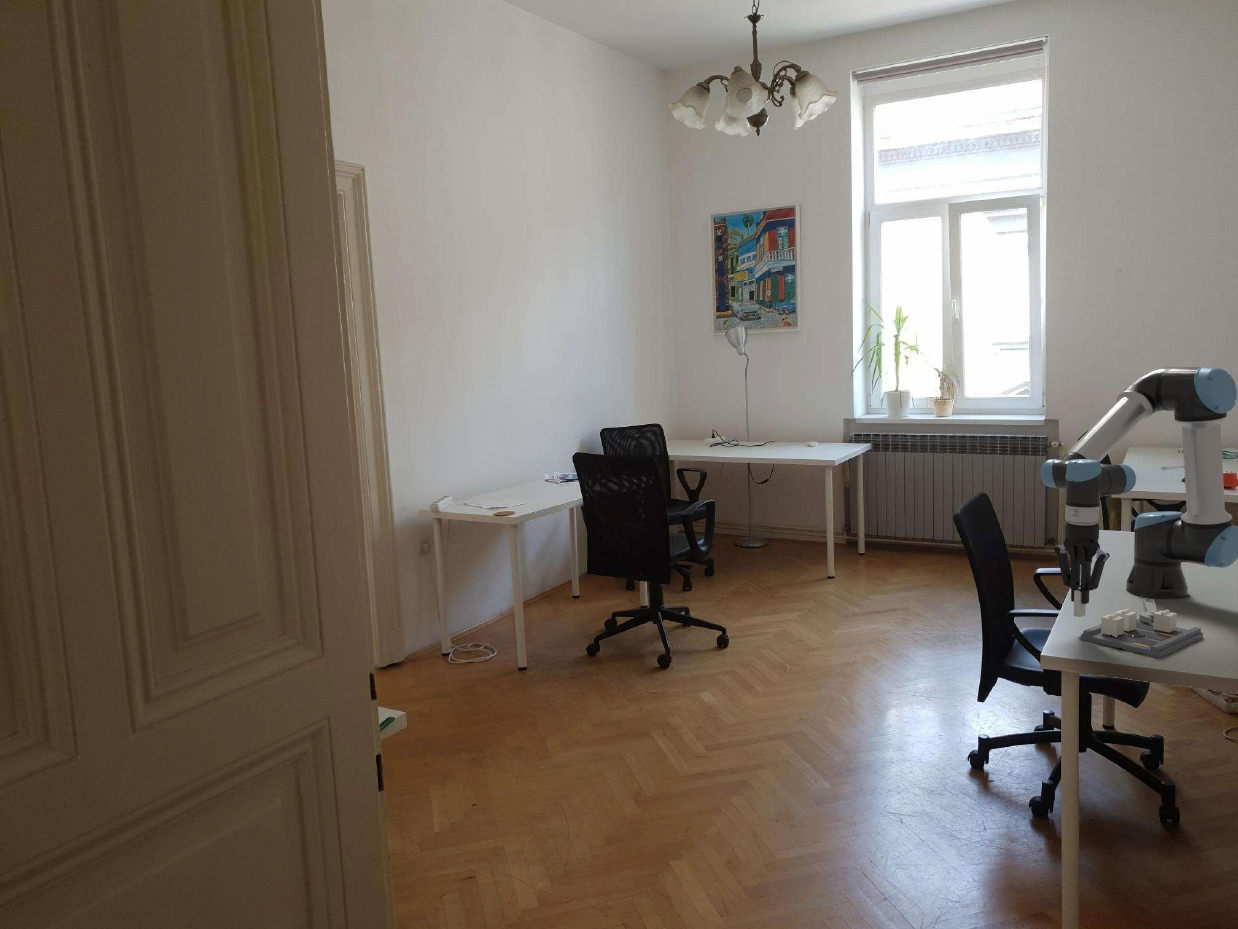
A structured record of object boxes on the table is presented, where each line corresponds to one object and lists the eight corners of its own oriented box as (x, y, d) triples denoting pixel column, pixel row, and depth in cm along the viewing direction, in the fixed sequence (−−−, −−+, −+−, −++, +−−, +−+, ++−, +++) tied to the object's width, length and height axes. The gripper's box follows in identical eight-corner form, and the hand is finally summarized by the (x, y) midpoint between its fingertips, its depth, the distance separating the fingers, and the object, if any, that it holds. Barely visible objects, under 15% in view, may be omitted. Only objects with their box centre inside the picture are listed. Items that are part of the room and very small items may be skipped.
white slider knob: (1120, 625, 222) (1121, 607, 222) (1136, 628, 219) (1136, 610, 219) (1113, 628, 220) (1114, 610, 220) (1128, 631, 217) (1129, 613, 217)
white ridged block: (1108, 630, 219) (1109, 611, 218) (1123, 633, 216) (1124, 615, 215) (1101, 633, 217) (1101, 614, 216) (1116, 636, 214) (1116, 617, 213)
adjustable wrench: (1142, 603, 246) (1142, 597, 245) (1169, 606, 242) (1169, 600, 242) (1138, 622, 224) (1139, 615, 224) (1168, 626, 221) (1169, 619, 221)
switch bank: (1125, 621, 230) (1126, 613, 230) (1203, 637, 215) (1203, 628, 215) (1080, 639, 218) (1081, 630, 218) (1159, 657, 203) (1159, 648, 203)
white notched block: (1160, 626, 220) (1160, 608, 220) (1176, 629, 217) (1176, 611, 217) (1153, 629, 218) (1153, 610, 218) (1169, 632, 215) (1169, 614, 215)
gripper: (1048, 521, 223) (1046, 612, 226) (1100, 527, 212) (1098, 624, 215) (1064, 517, 227) (1062, 607, 230) (1116, 523, 217) (1113, 618, 219)
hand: (1079, 615), depth 223 cm, fingers closed
